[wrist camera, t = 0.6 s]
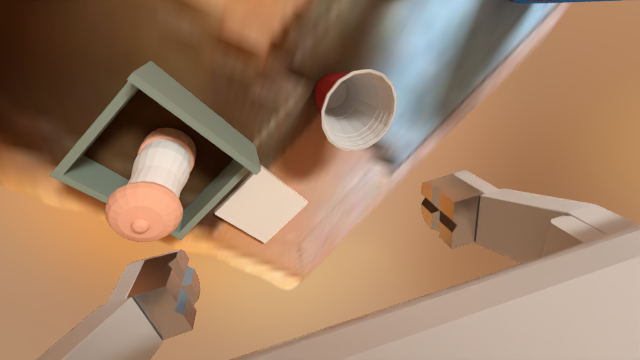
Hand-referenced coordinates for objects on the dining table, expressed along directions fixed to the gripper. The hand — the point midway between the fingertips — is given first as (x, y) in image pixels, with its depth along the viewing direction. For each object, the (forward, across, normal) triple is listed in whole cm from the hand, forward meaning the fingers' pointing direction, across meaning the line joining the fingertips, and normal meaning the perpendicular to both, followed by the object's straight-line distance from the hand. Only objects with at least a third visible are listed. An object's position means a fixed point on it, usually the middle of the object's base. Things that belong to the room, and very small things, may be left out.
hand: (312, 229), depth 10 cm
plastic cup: (+39, -11, +4) cm, 40 cm away
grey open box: (+37, +16, +6) cm, 41 cm away
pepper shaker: (+38, +16, +6) cm, 41 cm away
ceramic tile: (+39, +6, +21) cm, 45 cm away
